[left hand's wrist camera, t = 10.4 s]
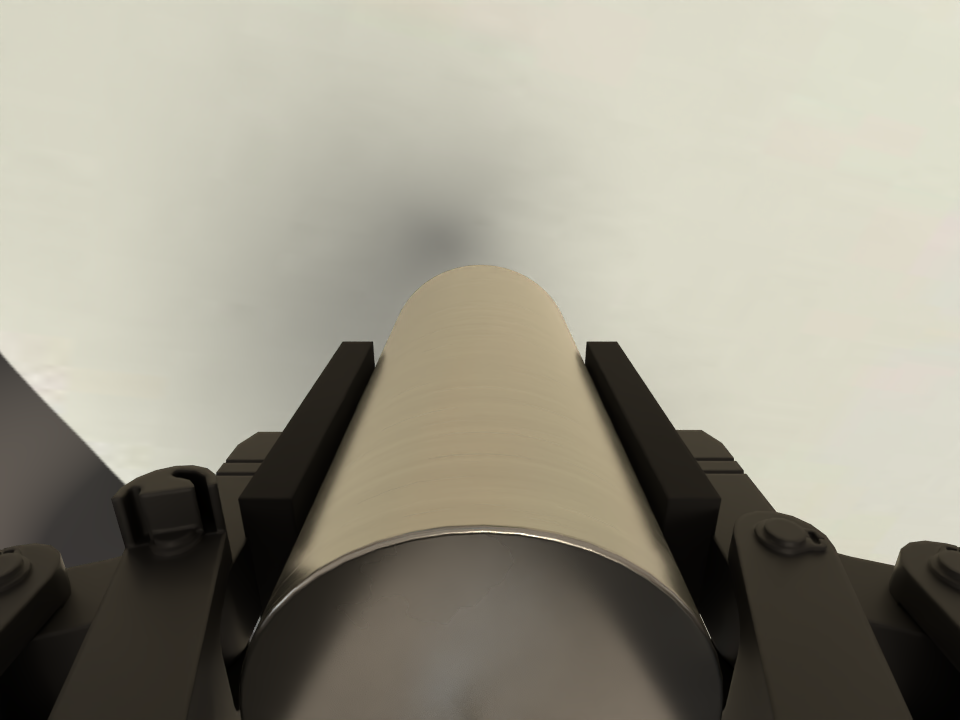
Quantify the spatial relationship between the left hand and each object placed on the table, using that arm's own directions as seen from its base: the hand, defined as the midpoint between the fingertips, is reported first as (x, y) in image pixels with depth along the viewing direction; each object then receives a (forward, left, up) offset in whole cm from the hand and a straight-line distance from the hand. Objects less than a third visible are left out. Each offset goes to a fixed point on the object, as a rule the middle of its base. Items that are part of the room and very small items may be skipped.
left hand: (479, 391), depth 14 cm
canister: (0, 0, -3) cm, 3 cm away
